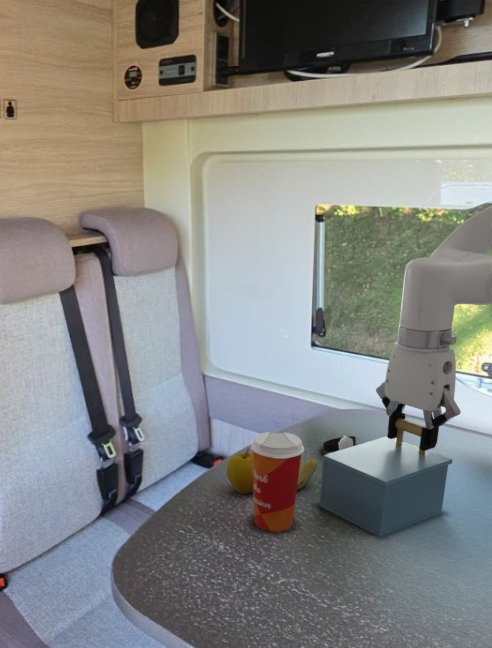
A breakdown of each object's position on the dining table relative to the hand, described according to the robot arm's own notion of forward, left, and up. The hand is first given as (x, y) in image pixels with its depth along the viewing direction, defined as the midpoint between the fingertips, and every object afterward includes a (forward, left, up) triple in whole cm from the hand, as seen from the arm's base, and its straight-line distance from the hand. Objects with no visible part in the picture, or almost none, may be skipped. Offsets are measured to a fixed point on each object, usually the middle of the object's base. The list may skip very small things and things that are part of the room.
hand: (411, 441), depth 120 cm
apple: (+20, -18, -11) cm, 29 cm away
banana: (+10, -14, -11) cm, 21 cm away
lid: (+6, 0, -2) cm, 6 cm away
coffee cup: (+24, -6, -11) cm, 27 cm away
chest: (+6, 0, -11) cm, 13 cm away
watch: (-8, -22, -11) cm, 26 cm away
